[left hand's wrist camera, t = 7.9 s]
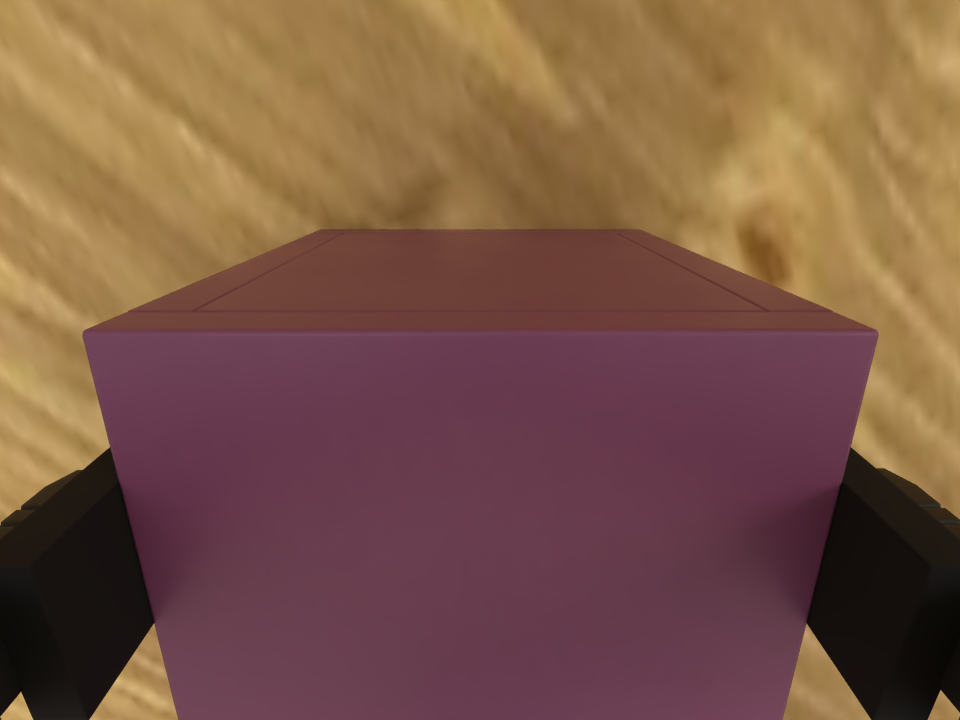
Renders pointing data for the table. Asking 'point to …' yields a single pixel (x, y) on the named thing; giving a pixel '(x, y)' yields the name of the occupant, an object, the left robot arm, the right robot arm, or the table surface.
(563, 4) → the table surface
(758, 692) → the purple rectangular block
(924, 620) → the left robot arm
